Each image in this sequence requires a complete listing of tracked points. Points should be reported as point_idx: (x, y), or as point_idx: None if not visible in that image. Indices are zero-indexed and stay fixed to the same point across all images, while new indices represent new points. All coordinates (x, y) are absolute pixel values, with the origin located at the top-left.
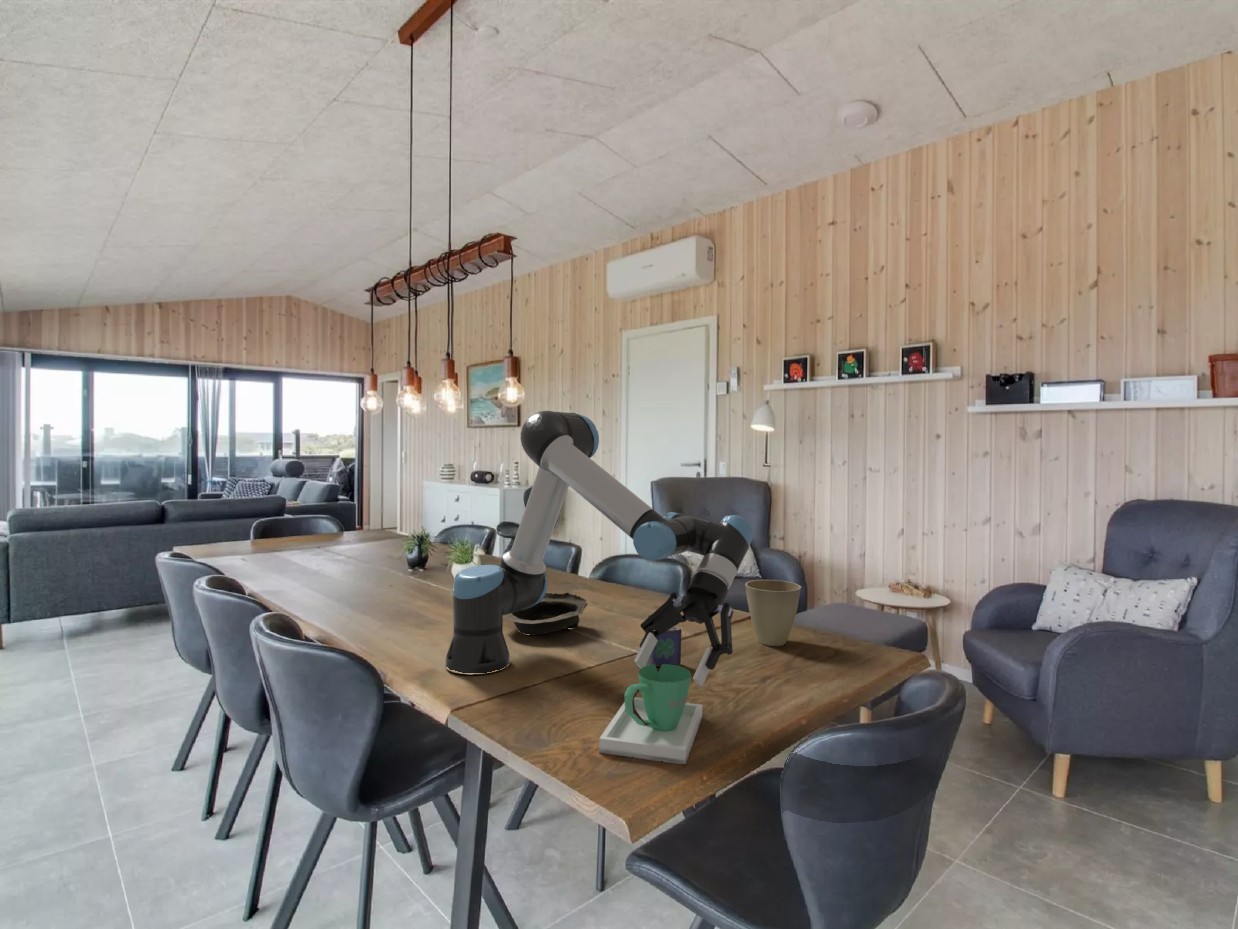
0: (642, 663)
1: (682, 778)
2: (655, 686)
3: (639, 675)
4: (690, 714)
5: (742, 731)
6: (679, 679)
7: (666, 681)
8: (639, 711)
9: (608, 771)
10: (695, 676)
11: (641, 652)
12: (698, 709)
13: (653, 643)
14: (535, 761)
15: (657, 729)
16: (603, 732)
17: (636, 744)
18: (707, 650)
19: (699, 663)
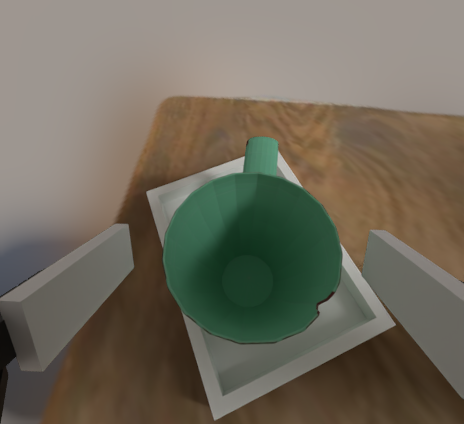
0: (370, 266)
1: (143, 175)
2: (229, 183)
3: (295, 185)
4: (236, 381)
5: (104, 399)
6: (242, 332)
7: (285, 320)
8: (334, 308)
9: (229, 137)
10: (117, 227)
11: (395, 246)
12: (206, 375)
13: (439, 343)
14: (312, 108)
15: (244, 254)
16: (284, 160)
17: (220, 165)
18: (28, 288)
19: (94, 247)
